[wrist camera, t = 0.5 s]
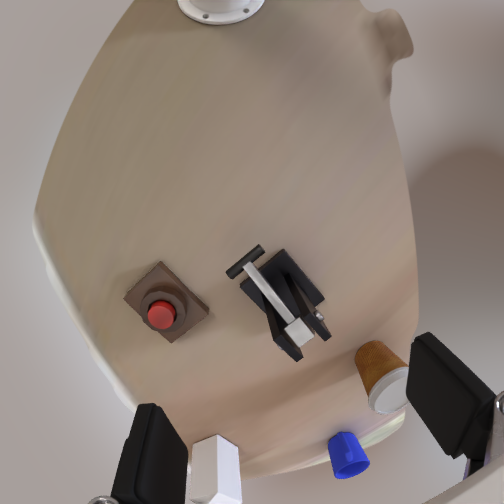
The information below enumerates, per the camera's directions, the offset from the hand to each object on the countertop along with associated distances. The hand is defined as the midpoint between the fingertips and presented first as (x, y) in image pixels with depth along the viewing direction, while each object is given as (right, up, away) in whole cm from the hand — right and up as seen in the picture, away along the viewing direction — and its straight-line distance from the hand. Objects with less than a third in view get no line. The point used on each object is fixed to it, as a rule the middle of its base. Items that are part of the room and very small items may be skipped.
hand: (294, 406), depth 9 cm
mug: (+19, -37, +46) cm, 62 cm away
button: (-14, -3, +30) cm, 33 cm away
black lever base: (+3, 0, +33) cm, 34 cm away
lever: (+1, 0, +25) cm, 25 cm away
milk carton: (-9, -37, +44) cm, 58 cm away
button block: (-14, -2, +33) cm, 35 cm away
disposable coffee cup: (+20, -13, +39) cm, 46 cm away
